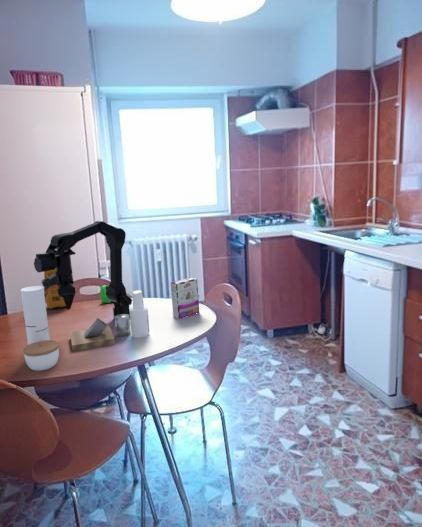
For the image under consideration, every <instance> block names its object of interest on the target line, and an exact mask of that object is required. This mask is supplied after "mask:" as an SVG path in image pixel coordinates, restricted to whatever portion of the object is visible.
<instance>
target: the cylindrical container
mask: <svg viewBox="0 0 422 527" xmlns="http://www.w3.org/2000/svg"><path fill="white" fill-rule="evenodd" d="M20 296H21V303H22V308H23V309H22V310H23V317H24V318H23V319H24V324H25V325H24V326H25V332H26V340H27V345H29V344H32V343H35V342H39V341H45V340H51V337H50V329H49V328H50V327H49V323H48V322H49V321H48V313H47V304H46V302H45V296H44V286H43V285H31V286H26V287H22V288H21V289H20Z"/></svg>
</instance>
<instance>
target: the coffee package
mask: <svg viewBox="0 0 422 527" xmlns="http://www.w3.org/2000/svg"><path fill="white" fill-rule="evenodd" d="M43 273H44V275H43V276H44V279H45V278H47V277H49V276H52V275H54V274H56V268H55V269H54V270H49V271H44V272H43ZM59 286H60V285H59ZM43 288H44V287H43ZM44 296H45V304H46V308H48V309H55V308H65V307H66V305H65V302H64V299H63V298H62V297H61V296H59V295H58V286H57V284H55V285H53V286H51V287H49V288H48V289H45V288H44Z"/></svg>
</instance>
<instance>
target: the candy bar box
mask: <svg viewBox="0 0 422 527" xmlns="http://www.w3.org/2000/svg"><path fill="white" fill-rule="evenodd" d="M198 287H199V286H198V278H195V277H187V278H182V279H178V280H174V281H170V290H171V292H170V293H171V304H172V317H173V318H175V319H178V320H181V319H184V318H183V317H185V318H187V317H186V316H188V317H191V316H190V315H192V316H194V315H193V314H195V315H197V314H196V313H198V314H200V303H199V302H200V301H199V300H200V299H199V288H198ZM180 318H181V319H180Z"/></svg>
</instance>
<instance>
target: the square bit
mask: <svg viewBox="0 0 422 527" xmlns="http://www.w3.org/2000/svg"><path fill="white" fill-rule="evenodd" d="M107 326H108V325H107V323H105V322H104V321H103V320H102V319H100V318H98V317H97V318H96V320H95V321H94V322H93V323H92V324H91V326H90V327H89V328H87V329H88V330H87V329H86V330H87V331H86V333H85V334H84V337H85V338H92V337H99V336H100V334H101V333H102V332H103V331H104V329H105V328H106V327H107Z"/></svg>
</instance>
